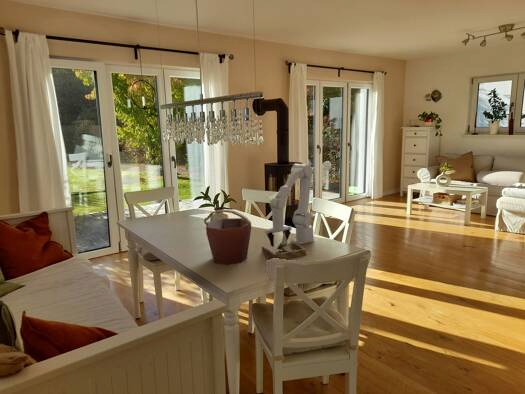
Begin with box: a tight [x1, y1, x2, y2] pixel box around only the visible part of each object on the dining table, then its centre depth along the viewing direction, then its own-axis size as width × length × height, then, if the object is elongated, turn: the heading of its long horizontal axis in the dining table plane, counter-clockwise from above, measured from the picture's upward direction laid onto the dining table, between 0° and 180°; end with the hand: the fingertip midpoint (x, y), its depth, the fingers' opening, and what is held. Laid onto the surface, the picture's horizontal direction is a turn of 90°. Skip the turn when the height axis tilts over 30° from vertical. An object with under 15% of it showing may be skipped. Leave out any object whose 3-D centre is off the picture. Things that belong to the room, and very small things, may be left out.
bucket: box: [203, 209, 252, 266], centre depth 188 cm, size 24×22×25 cm
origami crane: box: [276, 232, 296, 252], centre depth 195 cm, size 11×10×10 cm
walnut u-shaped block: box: [261, 240, 307, 260], centre depth 194 cm, size 18×15×3 cm
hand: (278, 245), depth 199 cm, fingers open, 7 cm apart
